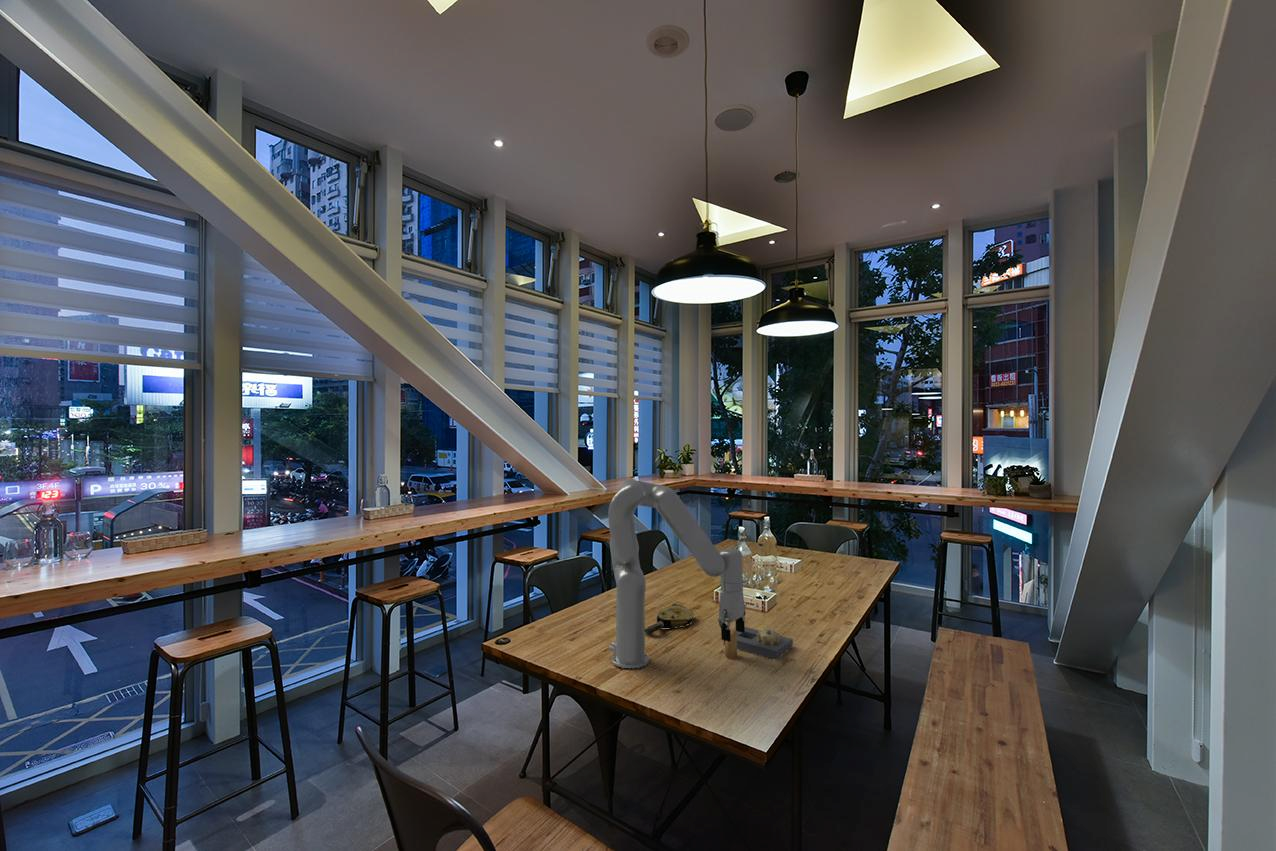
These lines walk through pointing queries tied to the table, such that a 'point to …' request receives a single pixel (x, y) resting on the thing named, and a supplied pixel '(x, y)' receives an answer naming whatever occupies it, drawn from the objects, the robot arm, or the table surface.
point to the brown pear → (731, 646)
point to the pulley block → (672, 618)
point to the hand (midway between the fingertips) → (733, 635)
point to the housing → (763, 642)
